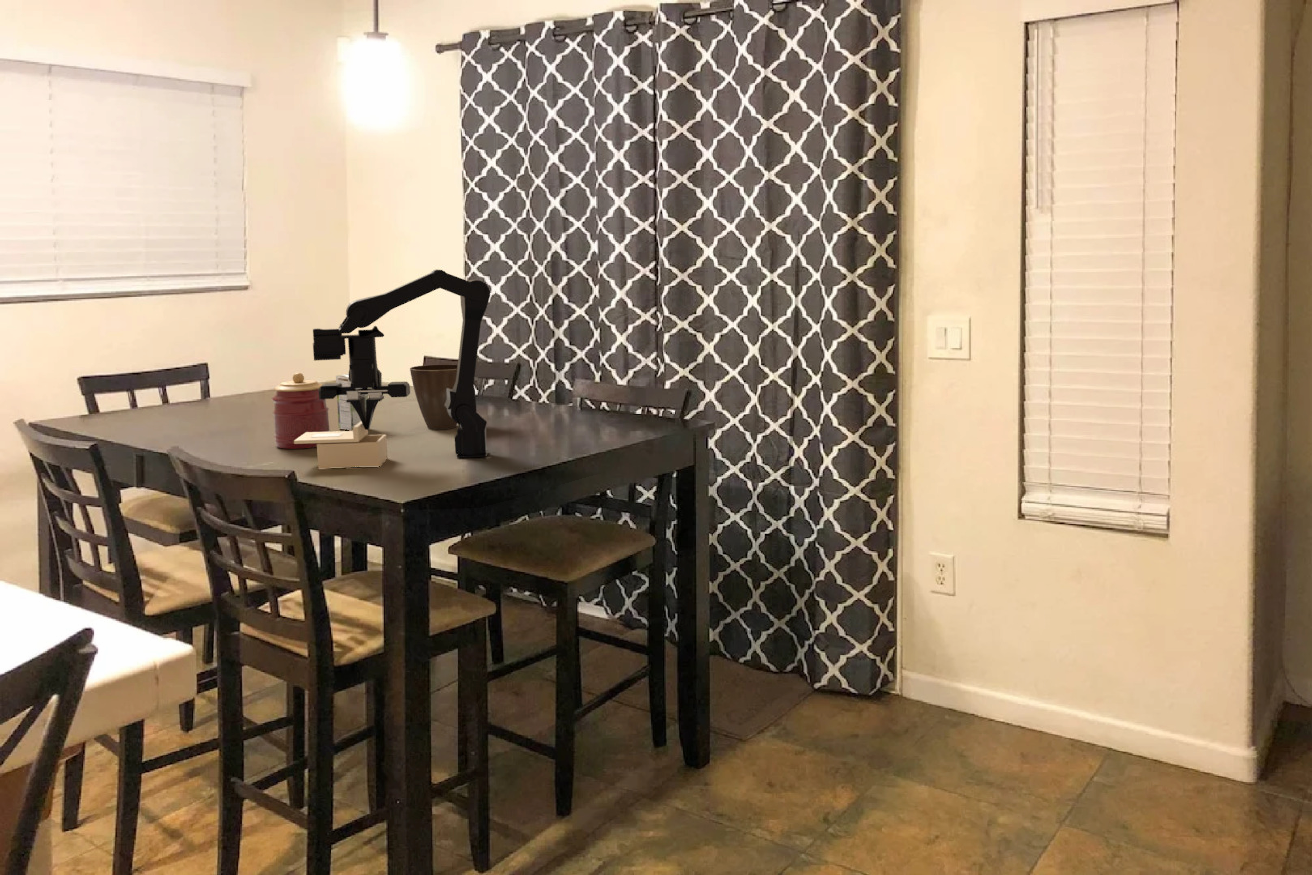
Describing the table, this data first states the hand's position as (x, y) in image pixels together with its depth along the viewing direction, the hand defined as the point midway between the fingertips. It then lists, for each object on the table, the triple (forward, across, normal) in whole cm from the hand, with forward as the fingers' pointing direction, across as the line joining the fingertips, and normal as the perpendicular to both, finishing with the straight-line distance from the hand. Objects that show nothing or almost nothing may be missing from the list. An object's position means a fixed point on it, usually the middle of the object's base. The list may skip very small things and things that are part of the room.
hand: (367, 429), depth 241 cm
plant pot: (+8, -10, -46) cm, 48 cm away
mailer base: (+8, +3, 0) cm, 8 cm away
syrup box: (+8, +13, -48) cm, 50 cm away
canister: (+8, +21, -27) cm, 35 cm away
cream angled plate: (+2, +8, 0) cm, 8 cm away
